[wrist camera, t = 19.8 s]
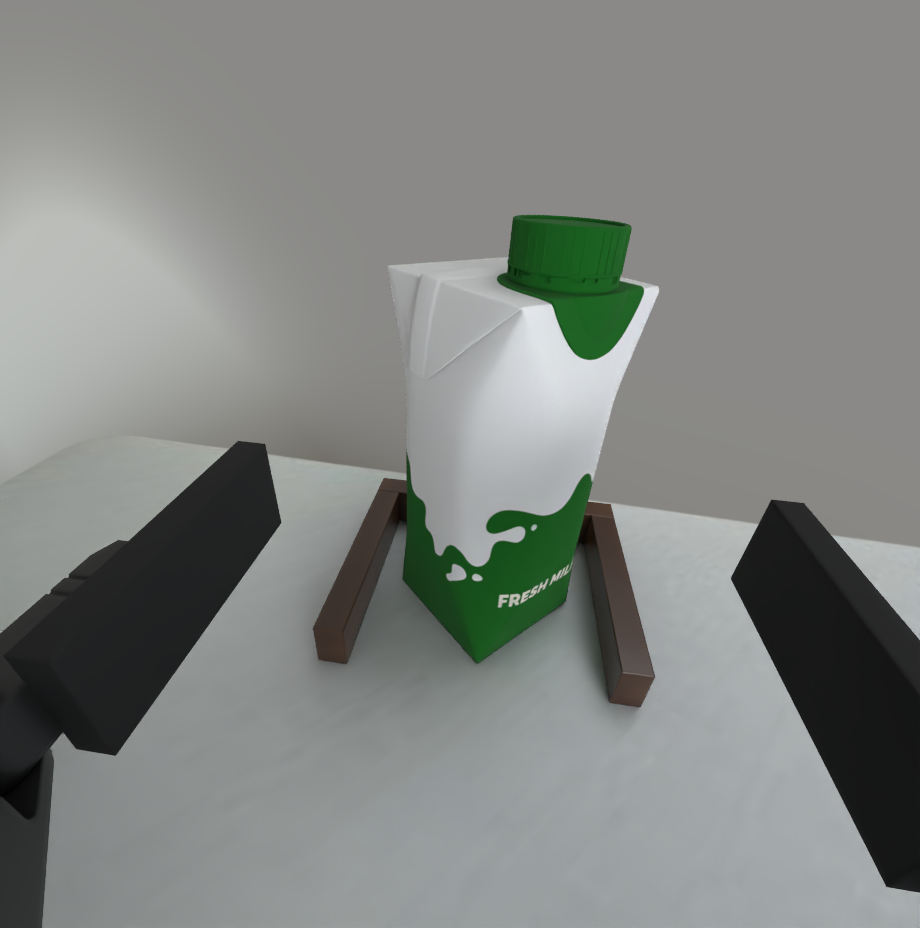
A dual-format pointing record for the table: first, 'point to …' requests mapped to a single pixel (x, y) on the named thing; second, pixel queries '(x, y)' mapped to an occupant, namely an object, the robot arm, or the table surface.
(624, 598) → the bay
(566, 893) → the table surface
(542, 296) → the white and green carton
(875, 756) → the robot arm
